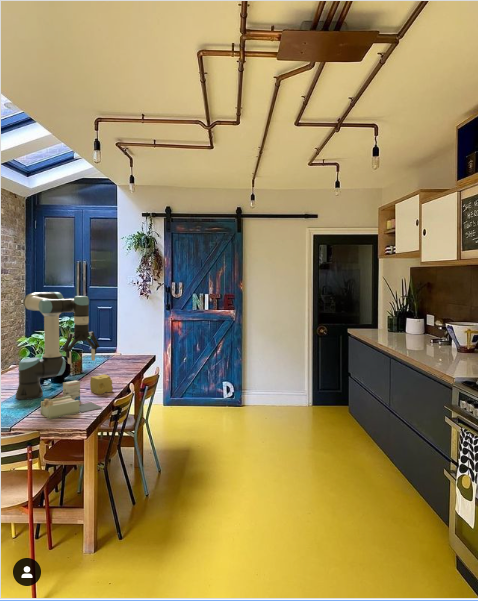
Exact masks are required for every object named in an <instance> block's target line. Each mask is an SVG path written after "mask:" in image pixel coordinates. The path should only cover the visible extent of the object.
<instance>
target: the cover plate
mask: <svg viewBox="0 0 478 601" xmlns="http://www.w3.org/2000/svg"><path fill="white" fill-rule="evenodd" d="M43 401H44V403H43V406H45V407H46V408H48V406H51V405H56V404H61V403H66V402H71V401H75V400H73V399H71V398H68V399H63V400H58V401H51V399H49V398H44V399H43Z"/></svg>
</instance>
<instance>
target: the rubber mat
mask: <svg viewBox="0 0 478 601" xmlns="http://www.w3.org/2000/svg"><path fill="white" fill-rule="evenodd" d="M100 409H103V407H102V406H100V405H98V404H96V403H94V402H91V401H90V402H85V403H79V413H87V412H92V411H95V410H100Z"/></svg>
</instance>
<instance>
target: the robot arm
mask: <svg viewBox="0 0 478 601" xmlns="http://www.w3.org/2000/svg"><path fill="white" fill-rule="evenodd" d="M22 304H23V307H24V308H25V309H26V310H29V311H34V312H35V311H37V312H40V313H41V315H42V316H43V317H44V318H43V319H44V320H43V321H44V323H43V324H44V327H43V328H44V331H43V332H44V354H42V355H41V358H40V357H36V356H35V357H29V358H24V359H22V360H20V361H19V363H18V386H17V390H16V392H15V399H17V400H22V401H23V400H24V401H25V400H33V399H39V398H40V397H42V396H43V395H44V392H43V388H42V385H41V383H40V382H41V381H40V379H43V378H44V379H45V378H50V377H57V376H62V375H63V374H64V372H65V370H66V364H69V365H72V349H73V348H74V347H75V345H76V343H78V342H81V341H84V342H85V341H86V342H87V344H89V346H91V350H90V352H91V356H90V357H91V358H90V359H91V361H94V362H95V361H96V359H95V357H96V355H97V349H98V348H100V344H99V341H98V340H97V339H96V336H95V332H94V331H90V329H89V327H90V326H89V322H90V321H89V320H90V319H89V318H90V317H89V312H90V311H89V307H90V306H89V304H90V302H89V297H88V296H86V295H75V296H74V298H64V296H63V294H62V293H61V292H60V291H59V292H58V291H49V292H48V291H43V292H42V291H41V292H35V291H34V292H31V293H28V294H27V295H25V296H24V297H23V300H22ZM63 313H73V316H74V317H73V323H74V325H73V330H74V331H73V333H70V332H69V333H68V334H67V339H66V341H65V343H64V345H63V348H62V351H63V352H65V357H64V356H63V354H62V353H60V315H61V314H63ZM89 336H90V338H91V339H92V341H91V339H90V338H89ZM65 358H67V363H66V359H65Z"/></svg>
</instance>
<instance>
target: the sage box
mask: <svg viewBox="0 0 478 601" xmlns="http://www.w3.org/2000/svg"><path fill="white" fill-rule="evenodd" d="M68 398H71V396H67V397H63V396H62V397H57V398H52V399H50V400H51V401H58V400H63V399H68ZM43 403H44V400H43V401H40V414H41V415H42V416H44V417H45V418H47V419H49V420H52V419H56V418H61V417H66V416H70V415H71V416H72V415H74V414H75V415H76V414H79V413H80V411H79V404H80V400H76V401H71V402H66V403H61V404H56V405H51V406H48V408H46V407H45V406H43Z"/></svg>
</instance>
